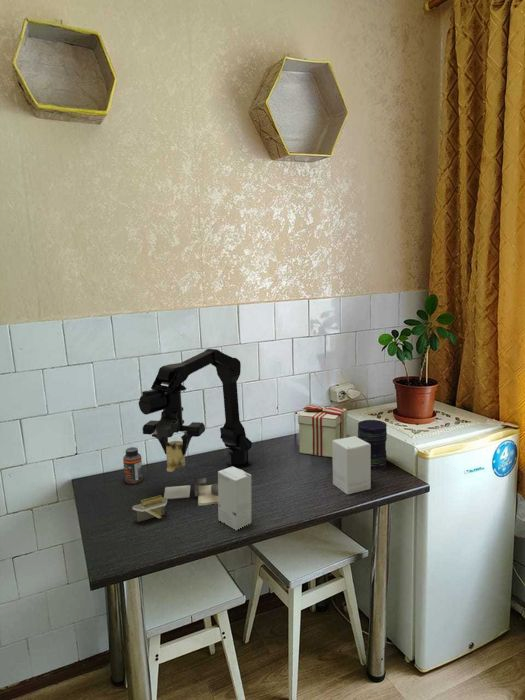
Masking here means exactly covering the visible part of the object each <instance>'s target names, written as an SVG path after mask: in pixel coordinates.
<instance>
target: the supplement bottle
mask: <svg viewBox="0 0 525 700" xmlns="http://www.w3.org/2000/svg"><path fill="white" fill-rule="evenodd" d="M122 459H123V460H122V462H123V473H124V481H125V483H127V484H129V485H134V484H139V483H140V482H142V481H143V479H144V478H143V462H142V461H143V460H142V455H141V453H139V450H138V447H134V446H133V447H128V448H126V449H125V454H124V456H123V457H122Z"/></svg>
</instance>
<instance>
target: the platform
mask: <svg viewBox="0 0 525 700" xmlns="http://www.w3.org/2000/svg"><path fill="white" fill-rule="evenodd" d="M140 502H141V503H139V504H136V505H132V510H133V511H136V515H137V516H136V517H137V523H139V522H143V521H147V520H150V519H153V518H157V519H162V516H163V515H164V516H165V512H166V511H165V506H166V505H167V503H168V499H167V498H164V497H162V495H157V496H153V497H149V498H145V499H141V500H140Z"/></svg>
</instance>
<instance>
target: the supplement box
mask: <svg viewBox="0 0 525 700" xmlns="http://www.w3.org/2000/svg"><path fill="white" fill-rule="evenodd" d="M332 455H333V457H332V485H334V486H335V487H337V488H338V489H339V490H340V491H342V492H343V493H344V494H346V495H351V494H355V493H360V492H364V491H367V490H371V487H372V485H371V480H372V478H371V477H372V475H371V474H372V473H371V444H369V443H367V442H365V441H363V440H361V439H359V438H358V436H356V435H353V436H347V438H342V439H337V440H333V441H332Z"/></svg>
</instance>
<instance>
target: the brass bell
mask: <svg viewBox="0 0 525 700" xmlns="http://www.w3.org/2000/svg"><path fill="white" fill-rule="evenodd" d="M165 455H166V466H167V467H166V472H170V473H171V472H174V471H175V470H176V469H181V468H183V467H185V466H186V454H185V455H183V440H182V441H181V440H172V441H168V443H166V454H165Z"/></svg>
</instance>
